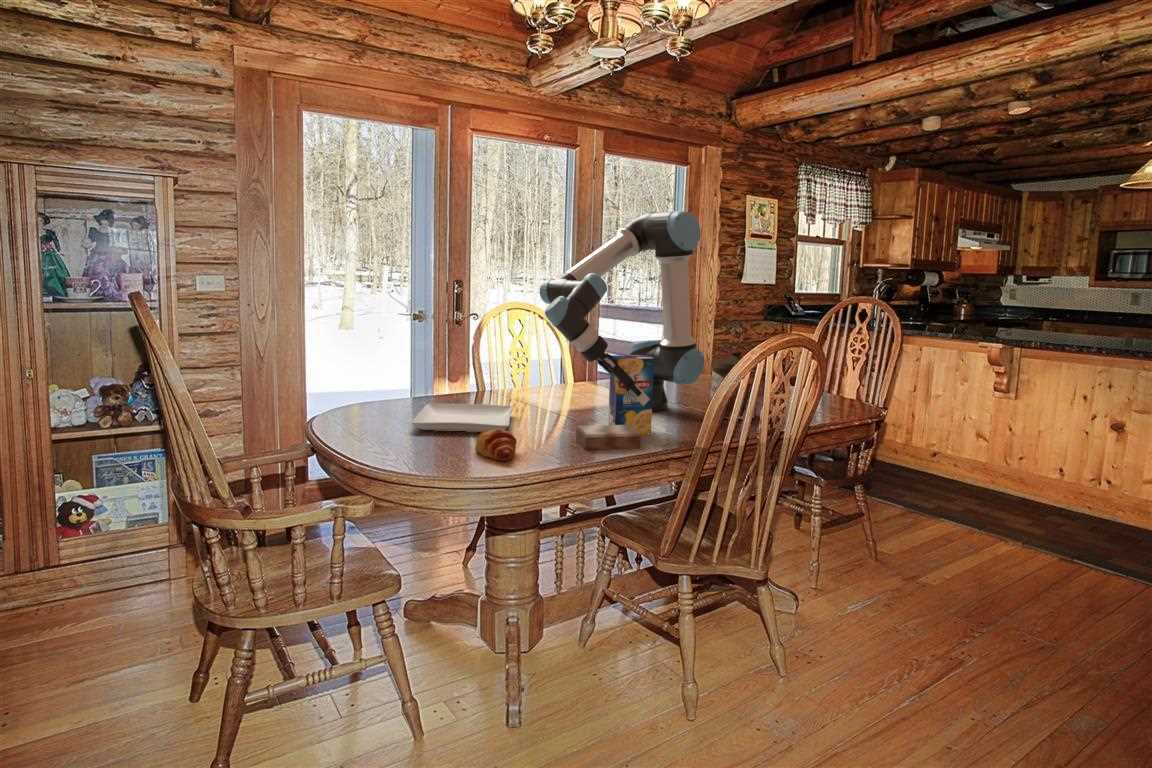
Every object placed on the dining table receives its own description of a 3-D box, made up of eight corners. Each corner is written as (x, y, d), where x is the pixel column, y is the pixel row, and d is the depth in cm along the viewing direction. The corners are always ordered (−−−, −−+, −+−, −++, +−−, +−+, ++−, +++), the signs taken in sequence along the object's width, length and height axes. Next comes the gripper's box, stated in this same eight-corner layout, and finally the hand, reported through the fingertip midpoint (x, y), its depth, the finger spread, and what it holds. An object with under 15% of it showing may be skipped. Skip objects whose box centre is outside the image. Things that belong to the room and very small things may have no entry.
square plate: (410, 434, 198) (410, 421, 198) (427, 414, 225) (427, 402, 225) (508, 437, 199) (508, 423, 199) (513, 416, 226) (514, 404, 226)
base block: (628, 438, 200) (628, 424, 200) (640, 448, 190) (640, 433, 189) (575, 439, 197) (576, 425, 196) (585, 449, 186) (585, 434, 186)
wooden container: (704, 410, 242) (708, 346, 238) (747, 411, 243) (751, 347, 239) (715, 420, 227) (720, 351, 224) (761, 421, 228) (766, 352, 225)
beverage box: (651, 434, 206) (654, 358, 202) (614, 435, 203) (617, 358, 200) (642, 428, 213) (646, 355, 209) (607, 429, 210) (610, 355, 206)
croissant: (474, 457, 190) (460, 432, 187) (506, 437, 193) (493, 412, 190) (497, 478, 170) (482, 450, 168) (533, 455, 173) (518, 428, 171)
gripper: (572, 348, 210) (623, 402, 216) (588, 357, 191) (643, 416, 197) (590, 330, 211) (641, 384, 217) (608, 337, 192) (662, 397, 198)
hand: (642, 399), depth 207 cm, fingers open, 7 cm apart
